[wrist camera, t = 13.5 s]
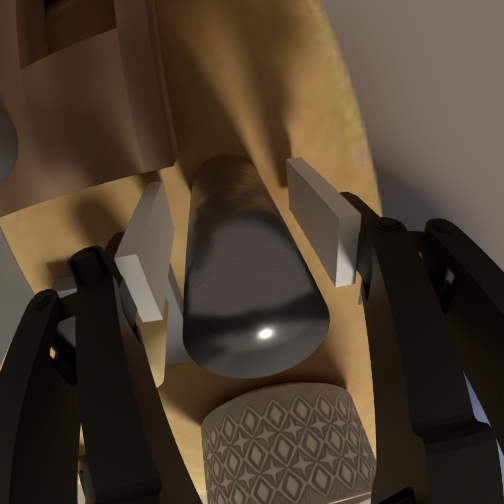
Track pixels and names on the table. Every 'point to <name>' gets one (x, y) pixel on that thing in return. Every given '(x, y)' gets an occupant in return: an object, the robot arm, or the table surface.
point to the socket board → (80, 105)
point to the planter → (287, 448)
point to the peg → (245, 278)
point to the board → (173, 318)
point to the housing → (11, 296)
